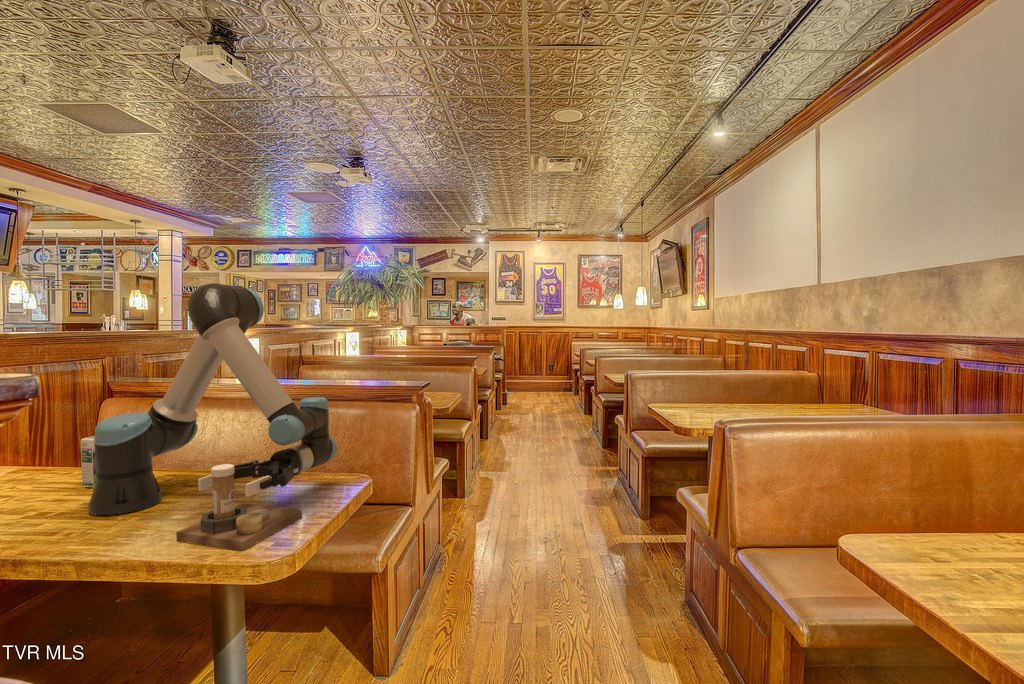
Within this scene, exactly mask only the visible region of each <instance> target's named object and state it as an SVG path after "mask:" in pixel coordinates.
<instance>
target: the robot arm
mask: <svg viewBox="0 0 1024 684" xmlns="http://www.w3.org/2000/svg"><path fill="white" fill-rule="evenodd" d="M264 308H265V307H264V304H263V301H262V298H261V297H260V295H259V294H258V293H257V292H256V291H255V290H253V289H251V288H248V287H244V286H243V285H232V284H230V285H229V284H222V283H215V282H213V283H205V284H203V285H200V286H198V287H197V288H196V289H195V290H193V291H192V293H191V294H190V296H189V298H188V301H187V313H188V317H189V320H190V321H191V323H192V325H193V327H194V329H195V330H196V332H197V333H198V336H197V337H196V339H195V341H194V342H193V345H192V346H191V348H190V350H189V351H188V354H187V355H186V357H185V358H184V361H183V363H182V364H181V366H180V367H179V369H178V371H177V373H176V375H175V376H174V378H173V380H172V382H171V384H170V386H169V387H168V389H167V391H166V392H165V394H164V396H163V398H160V399H156V400H155V401H154V402H153V404H152V405H151V407H150V409H149V410H148V412H147V413H146V412H130V413H124V414H121V415H115V416H112V417H108V418H105V419H103V420H101V421H100V422H99V423H97V425H96V426H95V428H94V436H95V437H94V442H95V458H96V475H97V481H96V485H95V487H94V488H93V491H92V494H91V497H90V500H89V502H88V513H89V512H90V513H92V514H96V515H111V516H116V515H115V514H119V515H123V514H122V513H125V514H129V513H128V512H130V513H133V512H134V511H135V512H138V510H139V511H141V510H145V509H148V508H150V507H153V506H155V505H157V504H158V503H160V502H161V501H162V499H163V495H162V493H163V492H162V489H161V488H160V485H159V483H158V481H157V478H156V476H155V474H154V471H153V458H154V457H158V456H161V455H163V454H166V453H170V452H173V451H175V450H176V451H177V450H179V449H181V448H182V447H184V446H186V445H188V444H189V443H191V441H192V440H193V439H194V438H195V436H196V434H197V433H198V426H199V425H198V424H197V422H198V420H197V419H198V416H199V414H198V412H197V410H196V409H197V407H198V405H199V403H200V402H201V401H202V399H203V397H204V395H205V393H206V391H207V389H208V388H209V386H210V384H211V382H212V380H213V379H214V377H215V376H216V374H217V372H218V370H219V368H220V366H221V365H222V363H223V361H224V363H225V364H226V365H227V366H228V367H229V369H230V371H231V372H232V374H233V375H234V376H235V378H236V379H237V380H238V382H239V383H240V384H241V386H242V387H243V388H244V390H245V391H246V393H247V394H248V395H249V397H250V399H252V400H253V402H254V404H255V405H256V407H257V408H258V409H259V411H260V412H261V414H263V416H264V417H265V419H266V420H267V421H268V423H269V426H268V429H267V430H268V436H269V438H270V439H271V441H272V442H273V443H275V444H277V445H279V446H289V445H291V444H295V443H298V442H300V443H298V444H295V445H292V446H289V447H287V448H284V449H281V450H279V451H276V452H274V453H273V454H272V455H271V457H270V458H269V459H267V460H264V461H261V462H259V460H254V461H253V460H252V461H249V462H245V463H240V464H233V465H234V480H237V479H243V478H251V477H252V478H253V479H255V480H253V481H250V482H248V483H245V484H244V487H245V488H244V489H245V492H244V493H245V495H244V496H245V497H251V496H253V495H256V494H258V493H260V492H263V491H265V490H267V489H270V488H271V487H273V488H276V487H278V486H279V487H282V488H283V487H286V486H287V485H288V484H289V482H291V481H292V479H293V478H294V477H296V476H300V475H302V473H304V472H306V471H309V470H311V469H314V468H317V467H319V466H322V465H324V464H326V463H328V462H330V461H331V460H333V459H334V458H336V455H337V452H338V444H337V443H336V440H335V439H334V438H333V437H332V436H330V432H329V431H330V427H329V426H330V425H329V424H330V422H329V418H330V417H329V413H330V409H329V402H328V399H327V398H326V397H322V396H321V397H320V396H314V397H305V398H301V399H300V401H299V407H298V406H297V405H296V404H295V402H294V401H293V399H292V398H291V397H290V395H289V394H288V393H287V392H286V390H285V388H284V387H283V385H281V383H280V381H279V380H278V379H277V377H276V376H275V375H274V373H273V372H272V371H271V369H270V368H269V367H268V364H267V363H266V362H265V361H264V359H263V358H262V356H261V355H260V353H259V352H258V351H257V349H256V348H255V347H254V346H253V344H252V343H251V341H250V339H249V338H248V337H247V336H246V333H247V331H248V329H249V328H251V327H253V326H255V325H257V324H258V323H260V321H261V320H262V318H263V316H264V310H265V309H264ZM256 472H257V473H256ZM257 478H258V479H257ZM197 485H198V486H197V487H198V491H199V492H202V491H205V490H207V489H210V488H212V476H211V474H209V475H206V476H202V477H199V478H198V479H197ZM90 513H89V514H90Z"/></svg>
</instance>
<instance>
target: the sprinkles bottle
mask: <svg viewBox="0 0 1024 684" xmlns="http://www.w3.org/2000/svg"><path fill="white" fill-rule="evenodd" d="M234 465H235V464H233V463H232V464H231V463H223V464H217V465H215V466H212V467H211V469H210V475H211V476H212V487H211V488H212V490H211V491H212V492H211V493H212V510H213V513H214V520H220V519H226V518H231V517H233V516H235V506H236V495H235V494H236V492H235V479H234Z"/></svg>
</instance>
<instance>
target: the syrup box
mask: <svg viewBox="0 0 1024 684" xmlns="http://www.w3.org/2000/svg"><path fill="white" fill-rule="evenodd" d="M94 437H95V435H93V436H88V437H84V438H81V439H80V453H81V454H80V455H81V456H80V458H81V487H82V486H86V487H87V486H88V487H95V485H96V481H97V475H96V458H95V442H94Z"/></svg>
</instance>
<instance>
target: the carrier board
mask: <svg viewBox="0 0 1024 684" xmlns="http://www.w3.org/2000/svg"><path fill="white" fill-rule="evenodd" d="M301 518H302V519H303V510H302V509H296V508H287V507H280V506H279V507H278V506H270V505H260V504H252V503H244V502H242V503H239V504H238V505H237V504H236V505H235V516H233V517H231V518H226V519H220V520H214V513H213V509H212V510H210V511H208V512H206V513H205V512H204V513H203V514H202V515H201V518H200V521H199V522H195V523H194V524H191V525H189V526H186V527H185V528H183V529H181V530H178V531H176V533H175V534H176V536H175V537H176V542H179V541H183V542H182V543H186V542H190V543H189V544H192V543H196V544H195V545H199V544H202V545H201V546H205V545H209V546H208V547H212V546H214V547H213V548H218V547H221V548H220V549H225V548H227V549H226V550H231V551H232V550H233V551H238V550H239V551H241V552H244V551H246V550H247V549H246V548H248V547H249V548H251V547H252V546H251V545H253V544H254V543H256V542H258V543H260V542H262V541H263V539H264V540H265V538H266V539H267V538H269V537H271V536H273V535H274V533H275V534H276V533H278V532H280V531H282V530H283V528H284V529H285V528H287V527H289V526H290V524H291V525H292V523H293V524H294V523H296V522H298V521H300V520H302V519H301ZM299 519H300V520H299ZM297 520H298V521H297ZM295 521H296V522H295ZM288 525H289V526H288ZM281 529H282V530H281ZM272 534H273V535H272ZM261 540H262V541H261ZM259 541H260V542H259ZM250 546H251V547H250ZM253 546H254V545H253ZM249 548H248V549H249ZM245 549H246V550H245ZM243 550H244V551H243ZM239 551H238V552H239Z"/></svg>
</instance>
